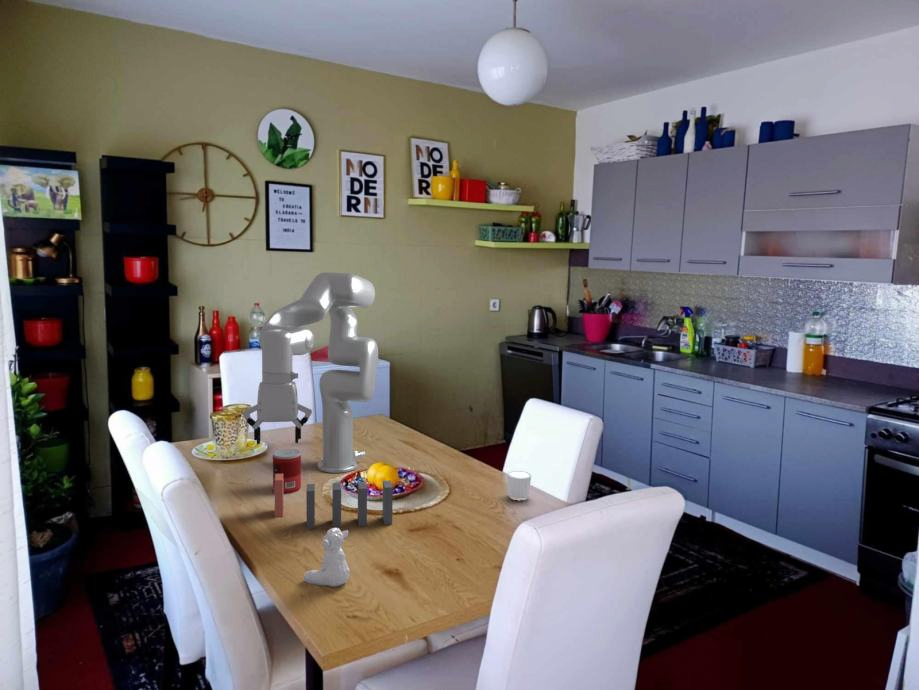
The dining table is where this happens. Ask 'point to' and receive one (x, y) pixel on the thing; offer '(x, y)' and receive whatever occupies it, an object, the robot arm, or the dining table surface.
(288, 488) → the canned food
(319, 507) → the dining table surface
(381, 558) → the dining table surface
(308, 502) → the domino
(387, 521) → the domino
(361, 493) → the domino
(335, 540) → the sitting furry creature
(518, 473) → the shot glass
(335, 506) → the domino
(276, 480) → the red domino
